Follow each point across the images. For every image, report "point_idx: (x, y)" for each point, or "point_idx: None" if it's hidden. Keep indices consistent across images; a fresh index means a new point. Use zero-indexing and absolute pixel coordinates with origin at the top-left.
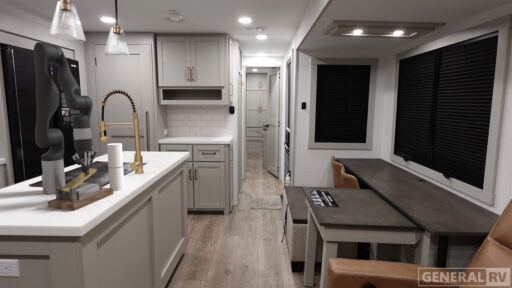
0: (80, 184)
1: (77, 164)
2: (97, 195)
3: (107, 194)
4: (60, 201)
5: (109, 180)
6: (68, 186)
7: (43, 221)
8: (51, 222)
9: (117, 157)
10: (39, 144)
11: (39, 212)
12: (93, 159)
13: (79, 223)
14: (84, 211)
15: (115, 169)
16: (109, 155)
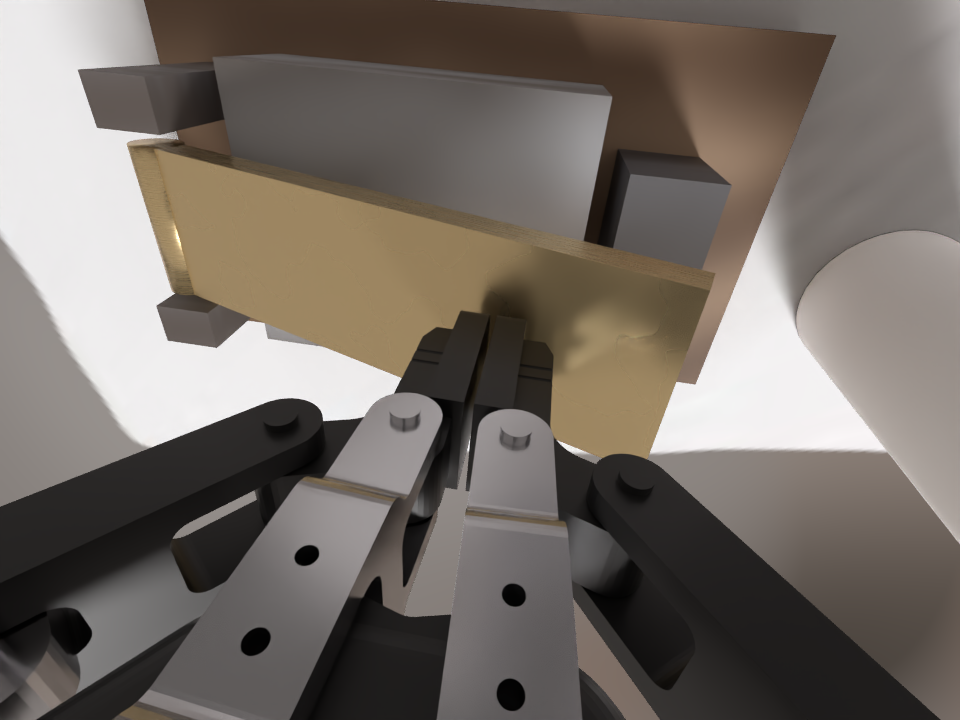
0: (496, 167)
1: (247, 412)
2: None
3: None
4: (207, 144)
5: (911, 307)
6: (199, 237)
7: (38, 224)
8: (65, 287)
9: None
10: None
11: (86, 9)
12: (688, 650)
13: (149, 430)
14: (273, 361)
15: (951, 528)
16: None
